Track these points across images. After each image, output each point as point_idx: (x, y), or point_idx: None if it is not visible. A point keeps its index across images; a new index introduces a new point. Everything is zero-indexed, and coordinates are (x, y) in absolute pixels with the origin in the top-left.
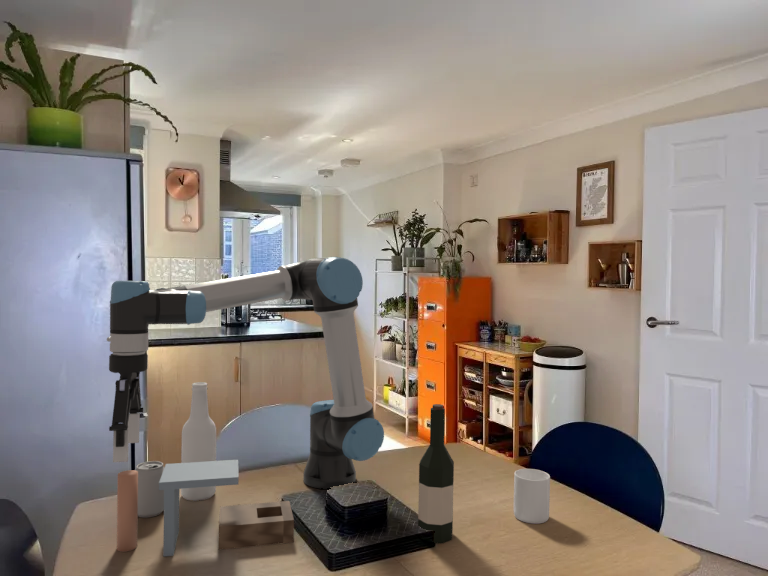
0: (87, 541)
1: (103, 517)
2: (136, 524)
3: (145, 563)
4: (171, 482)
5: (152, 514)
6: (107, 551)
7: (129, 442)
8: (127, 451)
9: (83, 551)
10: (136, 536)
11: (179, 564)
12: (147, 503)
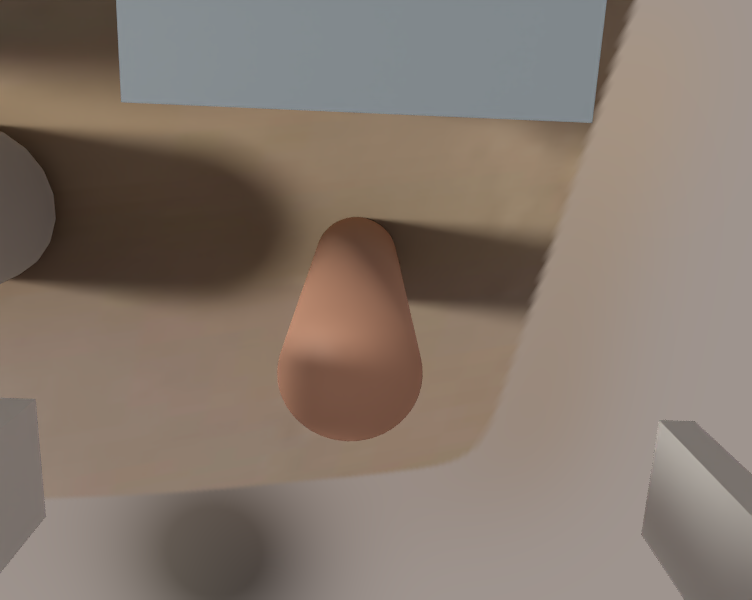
0: (260, 417)
1: None
2: (369, 237)
3: (528, 165)
4: (600, 22)
5: (48, 182)
6: None
7: (39, 485)
8: (746, 471)
9: None
10: (368, 227)
11: None
12: (27, 215)
